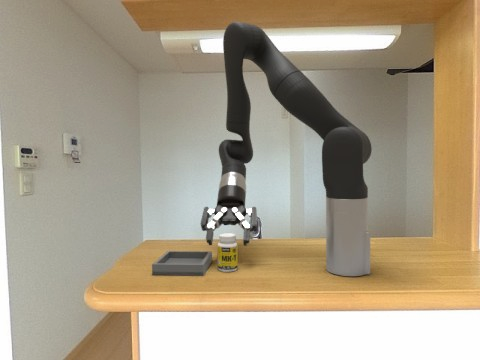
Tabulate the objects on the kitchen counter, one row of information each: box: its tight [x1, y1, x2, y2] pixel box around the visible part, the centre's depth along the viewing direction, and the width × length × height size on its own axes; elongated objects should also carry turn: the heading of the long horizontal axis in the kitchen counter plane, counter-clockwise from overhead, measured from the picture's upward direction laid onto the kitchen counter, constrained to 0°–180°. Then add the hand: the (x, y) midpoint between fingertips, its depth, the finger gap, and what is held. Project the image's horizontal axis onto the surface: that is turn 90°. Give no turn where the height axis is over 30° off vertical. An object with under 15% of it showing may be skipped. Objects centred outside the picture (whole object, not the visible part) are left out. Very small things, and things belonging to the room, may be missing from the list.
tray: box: [151, 250, 213, 277], centre depth 83 cm, size 12×12×2 cm
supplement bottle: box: [217, 232, 239, 273], centre depth 81 cm, size 5×5×8 cm
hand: (227, 243), depth 81 cm, fingers open, 8 cm apart
